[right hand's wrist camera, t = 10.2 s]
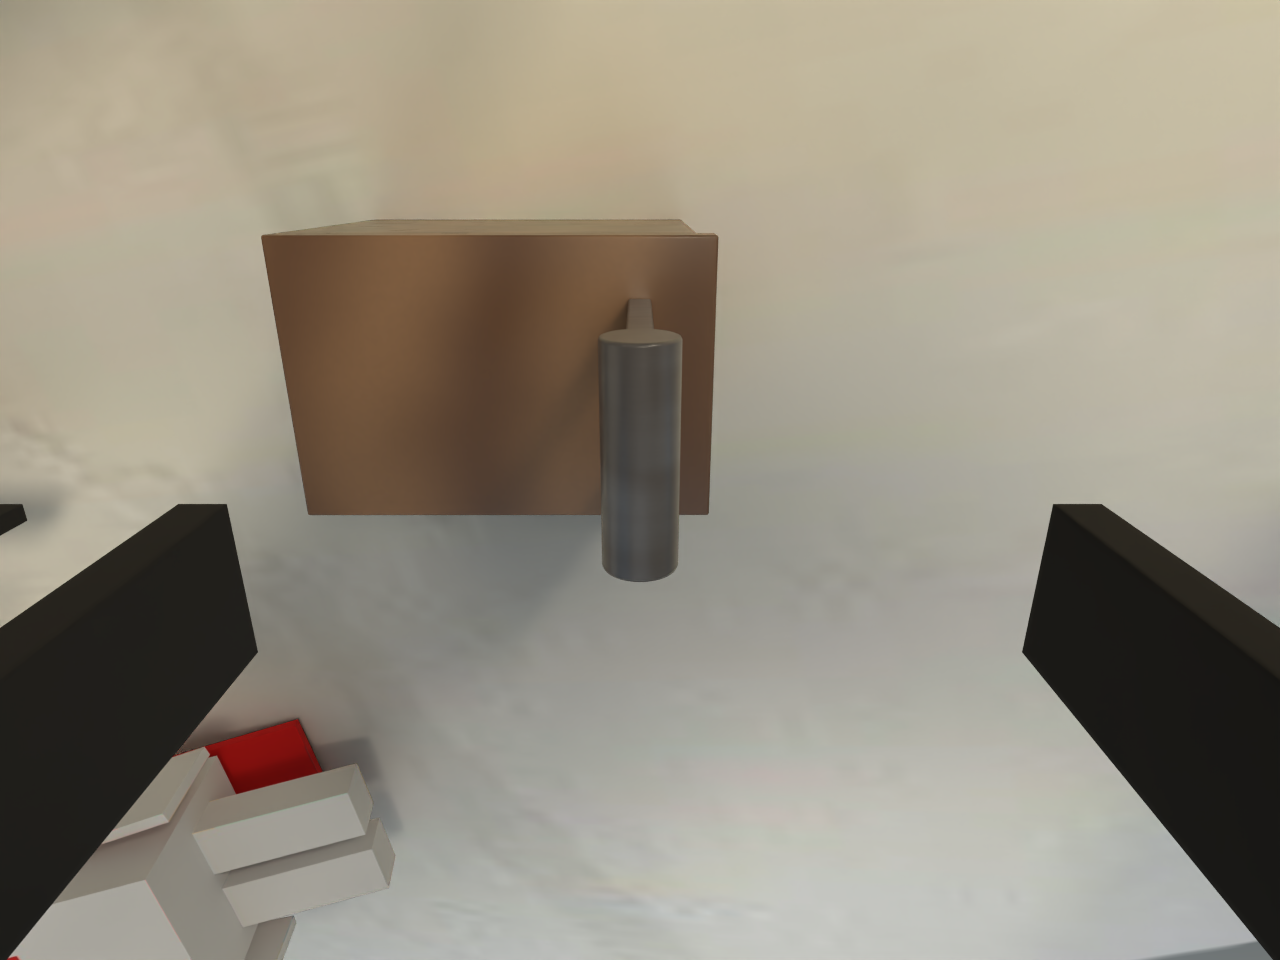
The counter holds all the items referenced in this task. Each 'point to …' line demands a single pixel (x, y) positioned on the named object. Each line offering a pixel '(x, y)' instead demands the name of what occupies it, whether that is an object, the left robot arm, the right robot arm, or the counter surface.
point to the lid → (504, 377)
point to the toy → (221, 858)
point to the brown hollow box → (506, 226)
